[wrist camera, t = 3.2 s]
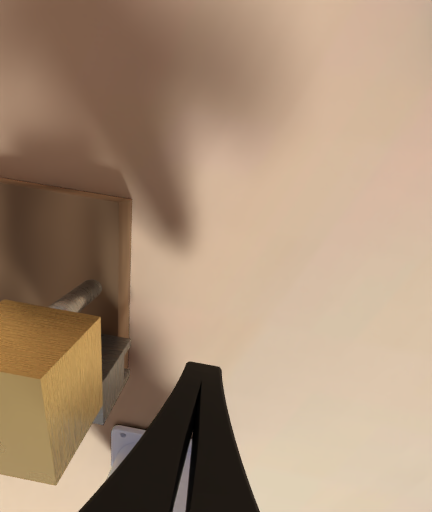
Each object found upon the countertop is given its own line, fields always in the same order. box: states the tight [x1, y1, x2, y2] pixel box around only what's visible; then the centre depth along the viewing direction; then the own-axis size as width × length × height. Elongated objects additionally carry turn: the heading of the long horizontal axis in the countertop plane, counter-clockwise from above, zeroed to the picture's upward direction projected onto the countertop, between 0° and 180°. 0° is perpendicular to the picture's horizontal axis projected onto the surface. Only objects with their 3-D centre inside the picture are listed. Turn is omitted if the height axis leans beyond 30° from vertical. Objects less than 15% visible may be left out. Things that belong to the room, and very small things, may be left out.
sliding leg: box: [0, 279, 131, 485], centre depth 10 cm, size 4×6×6 cm, turn 171°
